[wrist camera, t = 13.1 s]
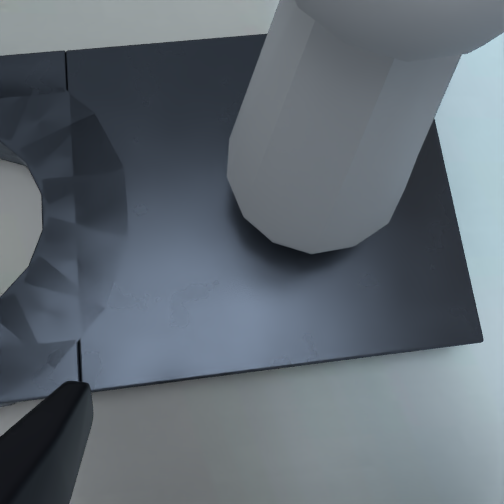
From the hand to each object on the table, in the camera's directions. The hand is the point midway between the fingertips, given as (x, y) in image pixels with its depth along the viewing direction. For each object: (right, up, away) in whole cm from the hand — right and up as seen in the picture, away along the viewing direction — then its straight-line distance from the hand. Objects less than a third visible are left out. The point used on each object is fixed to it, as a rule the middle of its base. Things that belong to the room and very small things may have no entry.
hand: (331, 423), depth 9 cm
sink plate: (-6, +4, +11) cm, 13 cm away
